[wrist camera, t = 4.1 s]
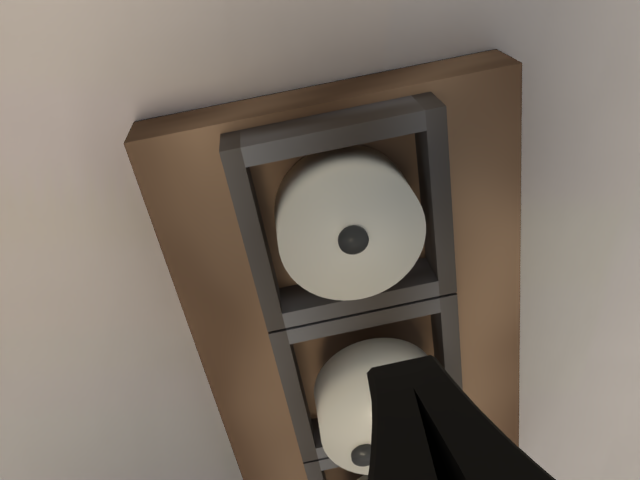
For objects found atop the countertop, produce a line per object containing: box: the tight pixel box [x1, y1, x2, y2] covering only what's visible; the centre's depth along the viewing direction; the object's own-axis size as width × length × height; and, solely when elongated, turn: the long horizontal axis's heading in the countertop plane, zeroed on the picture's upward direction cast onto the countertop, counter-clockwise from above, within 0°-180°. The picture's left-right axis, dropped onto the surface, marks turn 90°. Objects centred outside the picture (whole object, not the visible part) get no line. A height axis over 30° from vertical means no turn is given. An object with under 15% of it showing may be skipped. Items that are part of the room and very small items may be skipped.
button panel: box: [124, 49, 522, 480], centre depth 23 cm, size 12×20×4 cm, turn 9°
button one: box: [274, 145, 426, 301], centre depth 18 cm, size 4×4×2 cm
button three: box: [314, 338, 428, 475], centre depth 20 cm, size 4×4×2 cm
